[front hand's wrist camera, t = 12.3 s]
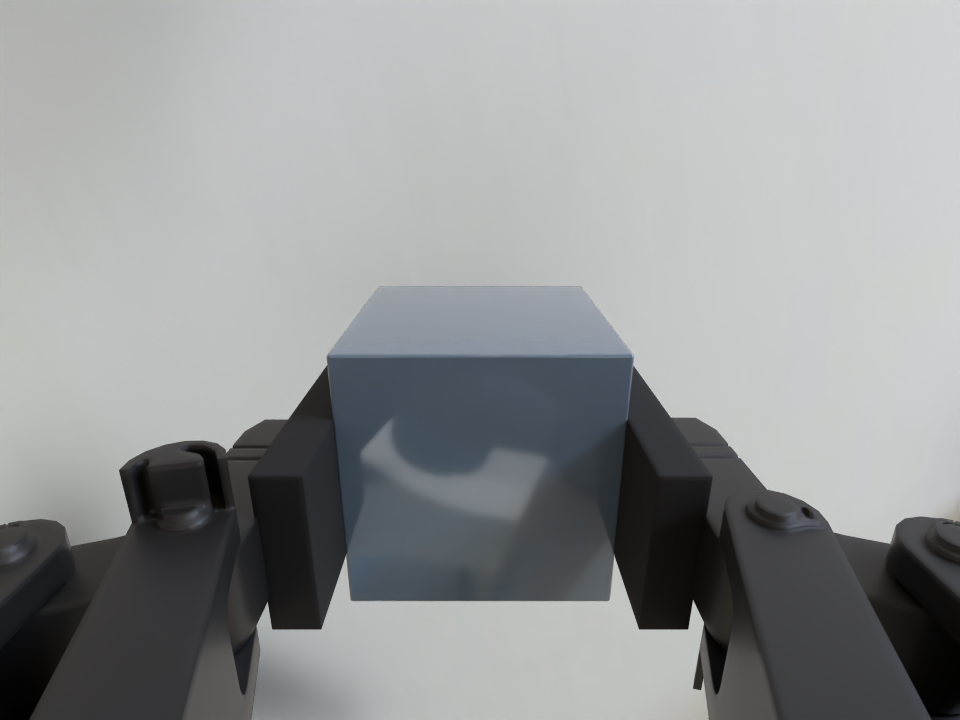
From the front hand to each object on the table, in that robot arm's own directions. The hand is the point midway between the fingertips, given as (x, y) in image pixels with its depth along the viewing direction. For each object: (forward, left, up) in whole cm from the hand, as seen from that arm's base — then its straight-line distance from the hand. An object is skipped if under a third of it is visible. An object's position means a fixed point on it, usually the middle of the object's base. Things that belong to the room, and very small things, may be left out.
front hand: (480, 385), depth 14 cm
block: (0, 0, 0) cm, 0 cm away
